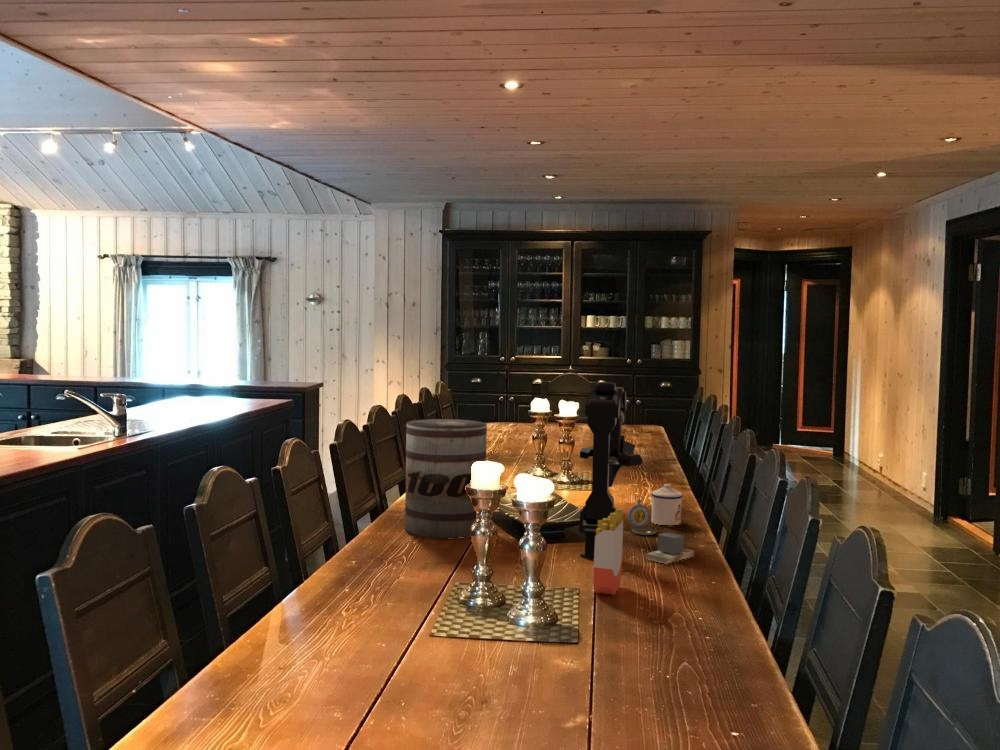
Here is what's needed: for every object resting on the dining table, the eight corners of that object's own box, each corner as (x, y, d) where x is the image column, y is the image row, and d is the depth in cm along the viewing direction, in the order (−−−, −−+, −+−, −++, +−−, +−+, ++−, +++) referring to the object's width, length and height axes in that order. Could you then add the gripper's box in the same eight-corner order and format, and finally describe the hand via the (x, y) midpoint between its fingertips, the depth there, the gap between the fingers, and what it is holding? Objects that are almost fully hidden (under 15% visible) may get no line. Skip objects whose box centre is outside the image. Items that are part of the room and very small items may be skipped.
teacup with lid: (682, 527, 257) (683, 488, 256) (650, 525, 258) (651, 486, 258) (680, 518, 269) (682, 480, 268) (650, 516, 270) (651, 479, 270)
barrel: (423, 542, 234) (425, 430, 232) (392, 524, 253) (394, 420, 252) (498, 534, 244) (501, 426, 242) (463, 517, 264) (465, 418, 262)
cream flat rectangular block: (664, 564, 217) (665, 558, 217) (645, 559, 222) (645, 553, 221) (694, 556, 225) (694, 550, 225) (675, 551, 229) (675, 545, 229)
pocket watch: (649, 537, 244) (650, 501, 244) (622, 532, 250) (623, 497, 249) (662, 532, 251) (664, 497, 250) (636, 527, 256) (637, 493, 255)
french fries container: (591, 596, 191) (593, 514, 190) (601, 582, 201) (603, 504, 200) (612, 598, 190) (614, 516, 188) (621, 584, 200) (623, 506, 199)
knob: (673, 554, 220) (674, 538, 220) (657, 549, 224) (658, 534, 223) (683, 551, 223) (683, 536, 222) (667, 547, 226) (668, 532, 226)
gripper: (655, 433, 246) (653, 488, 247) (605, 426, 260) (603, 478, 261) (629, 436, 239) (627, 493, 240) (579, 428, 253) (577, 482, 254)
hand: (609, 486), depth 249 cm, fingers closed
